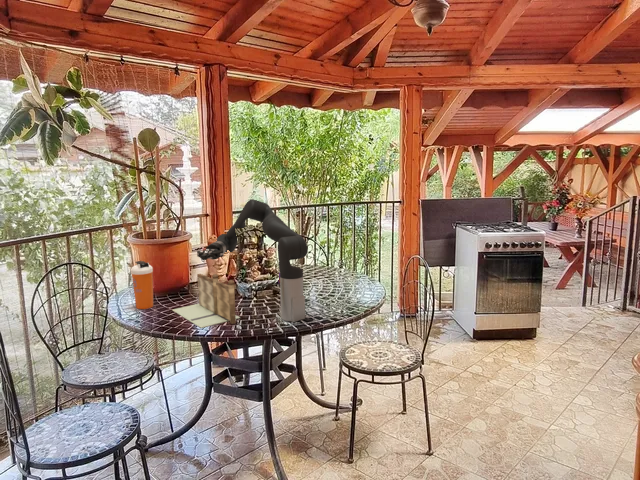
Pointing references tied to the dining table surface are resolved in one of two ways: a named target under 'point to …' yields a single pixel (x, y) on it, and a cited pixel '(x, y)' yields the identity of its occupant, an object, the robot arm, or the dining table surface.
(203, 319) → the card
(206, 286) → the fence panel
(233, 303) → the panel
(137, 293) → the shaker bottle
